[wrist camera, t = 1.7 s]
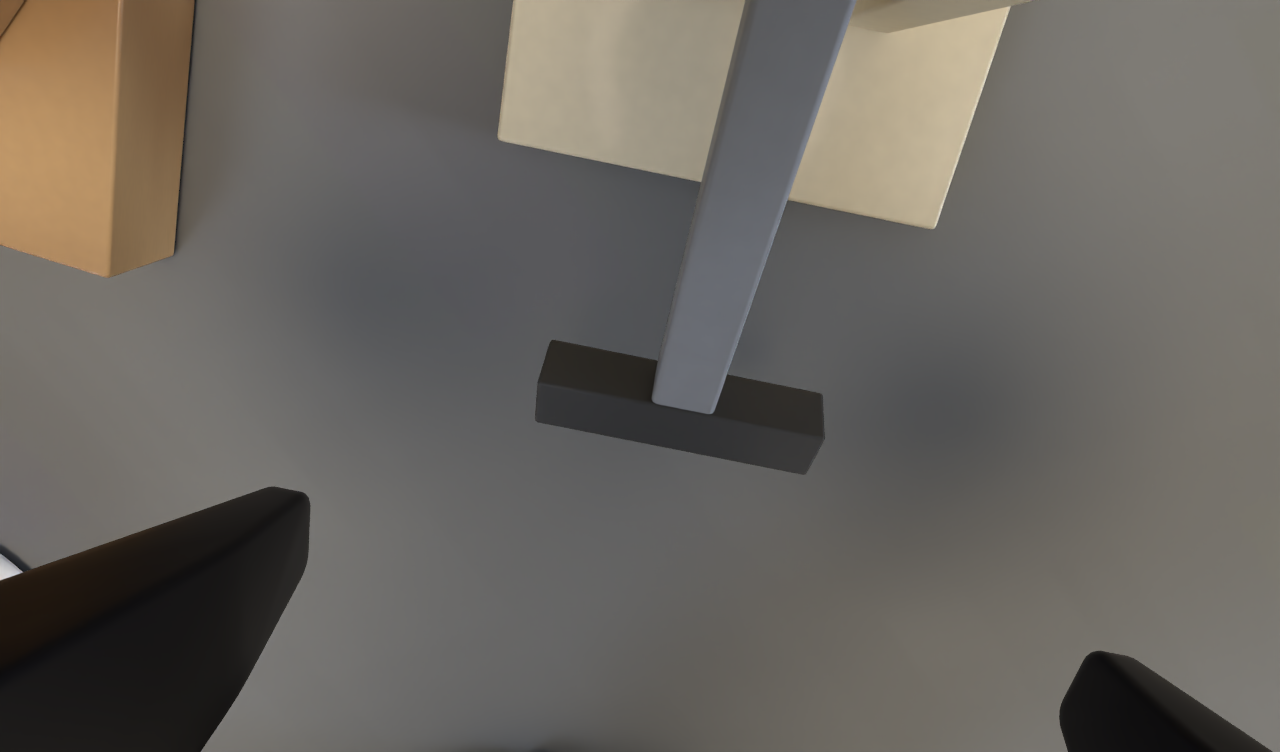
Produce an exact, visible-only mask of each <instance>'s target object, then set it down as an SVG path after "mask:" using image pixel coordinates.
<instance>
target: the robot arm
mask: <svg viewBox="0 0 1280 752" xmlns="http://www.w3.org/2000/svg"><path fill="white" fill-rule="evenodd" d="M309 527H310V501H309V498H308V496H307V495H306V494H305V493H303V492H299V491H294V490H289V489H284V488H279V487H267V488H264V489H261V490H258V491H255V492H252V493H250V494H247V495H244V496H241V497H238V498H235V499H232V500H229V501H227V502H224V503H221V504H218V505H215V506H212V507H209V508H207V509H204V510H201V511H198V512H195V513H192V514H189V515H186V516H184V517H181V518H178V519H175V520H172V521H169V522H166V523H163V524H161V525H158V526H155V527H152V528H149V529H146V530H143V531H140V532H138V533H135V534H132V535H129V536H126V537H123V538H120V539H117V540H115V541H112V542H109V543H106V544H103V545H100V546H97V547H94V548H92V549H89V550H86V551H83V552H80V553H77V554H74V555H71V556H69V557H66V558H63V559H60V560H57V561H54V562H51V563H48V564H46V565H43V566H40V567H37V568H34V569H31V570H28V571H25V572H23V573H20V574H17V575H14V576H11V577H8V578H5V579H2V580H0V752H201V750H202V749H203V747H204V746H205V744H206V743H207V741H208V740H209V738H210V737H211V735H212V734H213V733H214V731H215V730H216V728H217V727H218V725H219V724H220V722H221V721H222V719H223V718H224V716H225V715H226V713H227V712H228V710H229V709H230V707H231V706H232V704H233V702H234V701H235V699H236V698H237V696H238V695H239V693H240V691H241V689H242V687H243V686H244V684H245V682H246V680H247V679H248V677H249V675H250V673H251V671H252V669H253V668H254V666H255V664H256V662H257V660H258V658H259V656H260V654H261V653H262V651H263V649H264V647H265V645H266V643H267V641H268V639H269V638H270V636H271V634H272V632H273V630H274V628H275V626H276V624H277V623H278V621H279V619H280V617H281V615H282V613H283V611H284V609H285V608H286V606H287V604H288V602H289V600H290V598H291V596H292V594H293V593H294V591H295V589H296V587H297V585H298V583H299V581H300V579H301V577H302V575H303V573H304V570H305V567H306V564H307V560H308V550H309ZM1059 718H1060V726H1061V730H1062V733H1063V737H1064V740H1065V743H1066V746H1067V750H1068V752H1272V751H1271V750H1269V749H1268V748H1266V747H1265V746H1263V745H1262V744H1260V743H1259V742H1258V741H1256V740H1255V739H1253V738H1252V737H1250V736H1249V735H1247V734H1246V733H1244V732H1243V731H1241V730H1240V729H1238V728H1237V727H1235V726H1234V725H1232V724H1231V723H1229V722H1228V721H1226V720H1225V719H1223V718H1222V717H1220V716H1219V715H1217V714H1216V713H1214V712H1213V711H1211V710H1210V709H1209V708H1207V707H1206V706H1204V705H1203V704H1201V703H1200V702H1198V701H1197V700H1195V699H1194V698H1192V697H1191V696H1189V695H1188V694H1186V693H1185V692H1183V691H1182V690H1180V689H1179V688H1177V687H1176V686H1174V685H1173V684H1171V683H1170V682H1168V681H1167V680H1165V679H1164V678H1162V677H1161V676H1160V675H1158V674H1157V673H1155V672H1154V671H1152V670H1151V669H1149V668H1148V667H1146V666H1145V665H1143V664H1142V663H1140V662H1139V661H1137V660H1135V659H1134V658H1131V657H1128V656H1125V655H1119V654H1114V653H1109V652H1104V651H1095V652H1092V653H1090V654H1089V655H1088V656H1086V658H1085V659H1084V661H1083V663H1082V664H1081V666H1080V668H1079V670H1078V672H1077V674H1076V676H1075V678H1074V680H1073V682H1072V684H1071V685H1070V687H1069V689H1068V691H1067V693H1066V695H1065V697H1064V699H1063V701H1062V703H1061V707H1060V715H1059Z"/></svg>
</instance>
